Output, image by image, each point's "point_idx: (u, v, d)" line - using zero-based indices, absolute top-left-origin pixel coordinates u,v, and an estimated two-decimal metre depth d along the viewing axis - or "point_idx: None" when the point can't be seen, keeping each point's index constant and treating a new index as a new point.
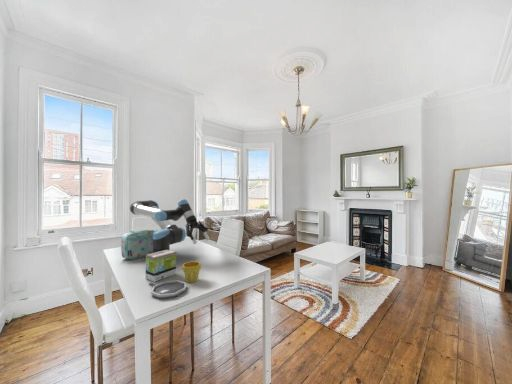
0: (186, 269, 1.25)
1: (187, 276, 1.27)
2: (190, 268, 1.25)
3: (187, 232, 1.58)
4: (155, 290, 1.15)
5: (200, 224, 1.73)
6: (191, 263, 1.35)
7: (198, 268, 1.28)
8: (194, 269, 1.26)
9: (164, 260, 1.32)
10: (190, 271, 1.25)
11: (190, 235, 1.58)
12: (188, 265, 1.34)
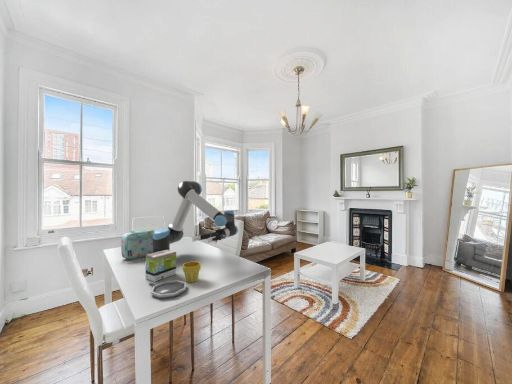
0: (186, 269, 1.25)
1: (187, 276, 1.27)
2: (190, 268, 1.25)
3: (221, 237, 1.42)
4: (155, 290, 1.15)
5: None
6: (191, 263, 1.35)
7: (198, 268, 1.28)
8: (194, 269, 1.26)
9: (164, 260, 1.32)
10: (190, 271, 1.25)
11: (217, 239, 1.40)
12: (188, 265, 1.34)
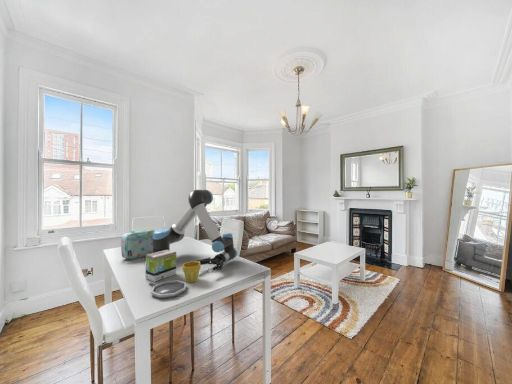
0: (186, 269, 1.25)
1: (187, 276, 1.27)
2: (190, 268, 1.25)
3: (221, 266, 1.40)
4: (155, 290, 1.15)
5: None
6: (191, 263, 1.35)
7: (198, 268, 1.28)
8: (194, 269, 1.26)
9: (164, 260, 1.32)
10: (190, 271, 1.25)
11: (217, 268, 1.38)
12: (188, 265, 1.34)
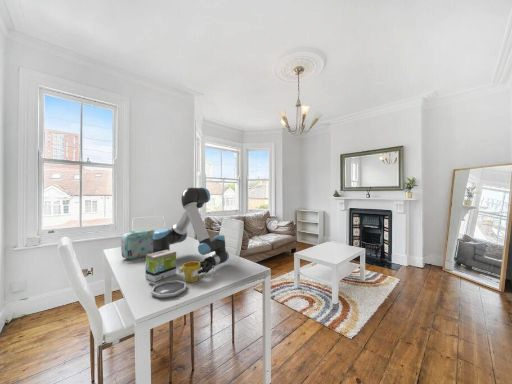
0: (186, 269, 1.25)
1: (187, 276, 1.27)
2: (190, 268, 1.25)
3: (208, 270, 1.31)
4: (155, 290, 1.15)
5: None
6: (191, 263, 1.35)
7: (198, 268, 1.28)
8: (194, 269, 1.26)
9: (164, 260, 1.32)
10: (190, 271, 1.25)
11: (203, 272, 1.29)
12: (188, 265, 1.34)
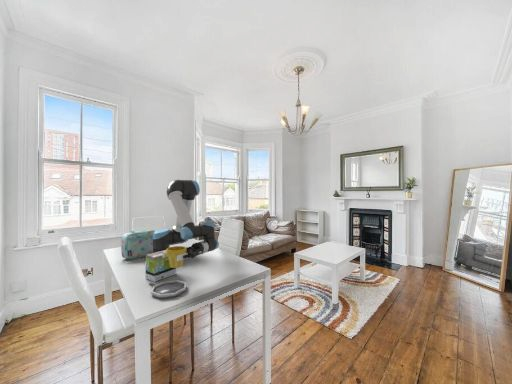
0: (170, 253, 1.14)
1: (171, 261, 1.15)
2: (174, 252, 1.14)
3: (194, 255, 1.20)
4: (155, 290, 1.15)
5: None
6: (176, 247, 1.24)
7: (183, 252, 1.17)
8: (179, 253, 1.15)
9: (164, 260, 1.32)
10: (175, 255, 1.14)
11: (189, 257, 1.18)
12: (173, 250, 1.23)
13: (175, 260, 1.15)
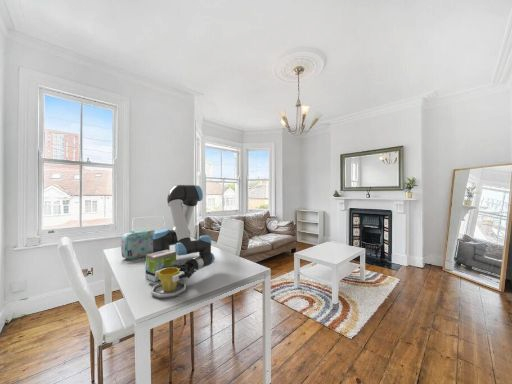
0: (162, 277, 1.11)
1: (163, 284, 1.13)
2: (166, 276, 1.11)
3: (190, 274, 1.17)
4: (155, 290, 1.15)
5: None
6: (170, 269, 1.21)
7: None
8: (171, 277, 1.12)
9: (164, 260, 1.32)
10: (167, 279, 1.11)
11: (185, 276, 1.15)
12: (166, 272, 1.20)
13: (167, 284, 1.12)
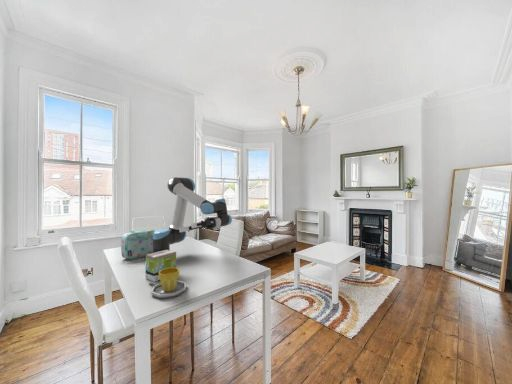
0: (162, 277, 1.11)
1: (163, 284, 1.13)
2: (166, 275, 1.11)
3: (207, 222, 1.34)
4: (155, 290, 1.15)
5: (198, 227, 1.46)
6: (170, 269, 1.21)
7: (176, 275, 1.14)
8: (171, 277, 1.12)
9: (164, 260, 1.32)
10: (167, 279, 1.11)
11: (202, 224, 1.32)
12: (166, 272, 1.20)
13: (167, 284, 1.12)
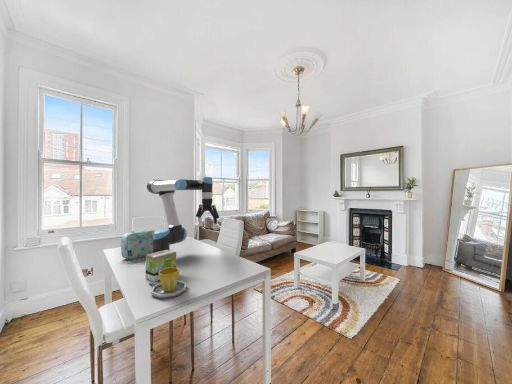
0: (162, 277, 1.11)
1: (163, 284, 1.13)
2: (166, 276, 1.11)
3: None
4: (155, 290, 1.15)
5: (213, 209, 1.56)
6: (170, 269, 1.21)
7: (176, 275, 1.14)
8: (171, 277, 1.12)
9: (164, 260, 1.32)
10: (167, 279, 1.11)
11: (198, 217, 1.63)
12: (166, 272, 1.20)
13: (167, 284, 1.12)
